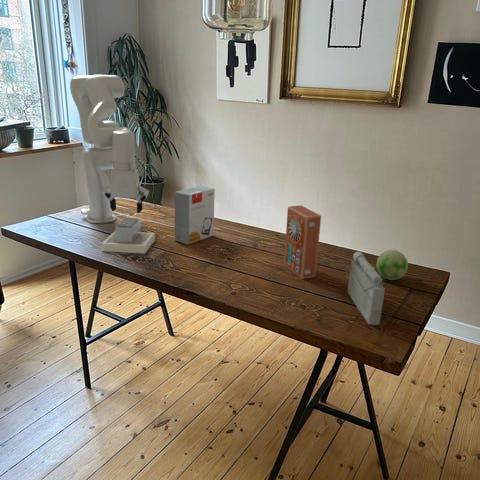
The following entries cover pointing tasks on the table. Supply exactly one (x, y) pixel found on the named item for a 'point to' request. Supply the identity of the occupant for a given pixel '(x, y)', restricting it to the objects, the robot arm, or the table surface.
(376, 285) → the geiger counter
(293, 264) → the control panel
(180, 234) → the hard drive box
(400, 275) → the decorative ball
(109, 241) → the white shallow square tray
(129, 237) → the block
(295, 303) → the table surface
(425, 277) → the table surface
